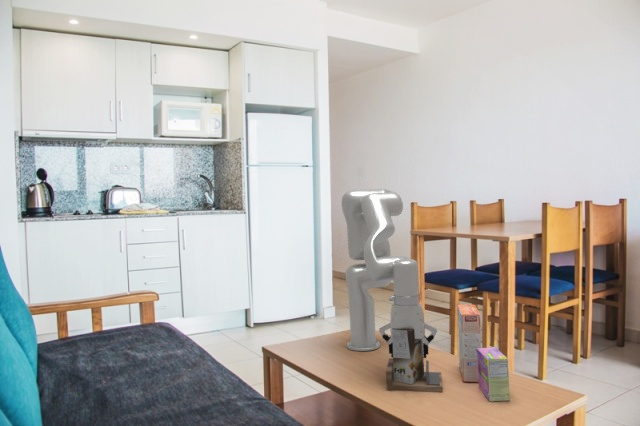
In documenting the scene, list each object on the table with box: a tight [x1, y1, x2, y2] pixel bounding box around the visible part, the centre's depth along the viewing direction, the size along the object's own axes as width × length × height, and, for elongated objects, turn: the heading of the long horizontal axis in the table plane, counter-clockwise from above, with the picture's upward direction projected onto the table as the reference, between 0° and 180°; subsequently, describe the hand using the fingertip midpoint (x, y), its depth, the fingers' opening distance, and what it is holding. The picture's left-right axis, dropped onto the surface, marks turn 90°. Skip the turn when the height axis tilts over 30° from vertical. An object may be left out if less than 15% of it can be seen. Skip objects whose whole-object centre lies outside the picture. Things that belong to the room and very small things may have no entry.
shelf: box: [385, 358, 444, 393], centre depth 153 cm, size 12×16×6 cm
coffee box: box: [392, 328, 425, 384], centre depth 153 cm, size 9×6×16 cm
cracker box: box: [457, 304, 482, 383], centre depth 158 cm, size 14×6×21 cm, turn 168°
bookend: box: [425, 360, 440, 386], centre depth 152 cm, size 10×4×4 cm, turn 168°
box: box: [477, 347, 510, 402], centre depth 142 cm, size 10×6×12 cm, turn 178°
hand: (408, 356), depth 153 cm, fingers open, 9 cm apart
